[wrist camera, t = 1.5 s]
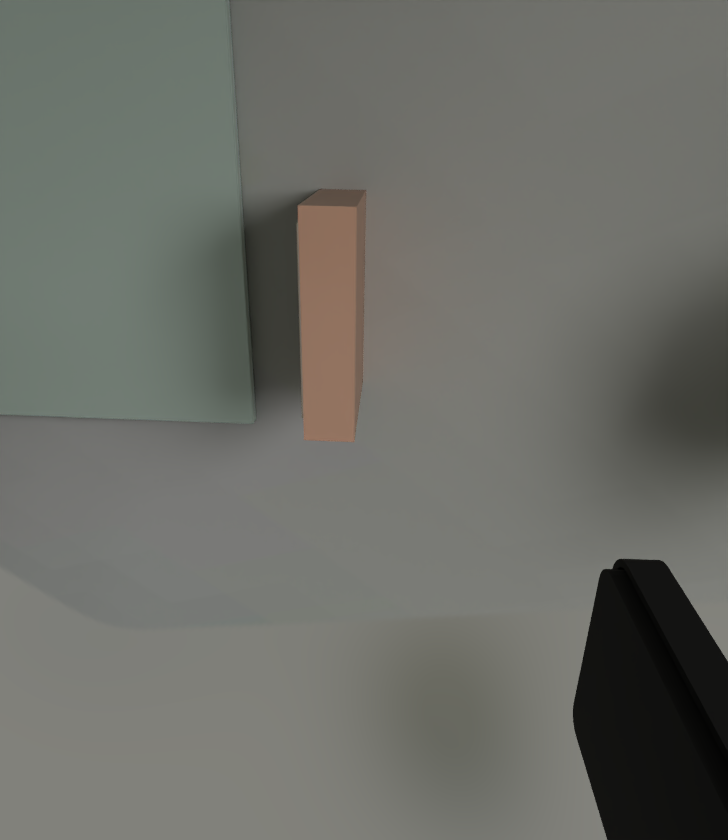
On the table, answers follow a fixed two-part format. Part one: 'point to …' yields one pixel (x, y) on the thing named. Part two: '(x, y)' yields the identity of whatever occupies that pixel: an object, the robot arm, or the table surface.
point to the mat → (122, 213)
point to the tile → (331, 311)
